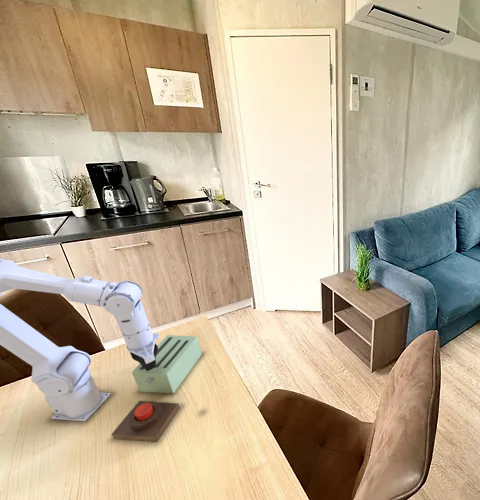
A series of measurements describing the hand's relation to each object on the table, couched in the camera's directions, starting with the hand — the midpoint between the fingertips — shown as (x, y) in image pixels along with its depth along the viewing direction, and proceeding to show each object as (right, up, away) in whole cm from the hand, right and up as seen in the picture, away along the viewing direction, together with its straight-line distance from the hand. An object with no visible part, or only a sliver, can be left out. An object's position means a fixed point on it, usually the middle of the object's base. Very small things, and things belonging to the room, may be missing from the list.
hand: (150, 367), depth 77 cm
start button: (+3, -9, -6) cm, 11 cm away
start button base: (+3, -12, -5) cm, 13 cm away
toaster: (0, -5, +10) cm, 11 cm away
